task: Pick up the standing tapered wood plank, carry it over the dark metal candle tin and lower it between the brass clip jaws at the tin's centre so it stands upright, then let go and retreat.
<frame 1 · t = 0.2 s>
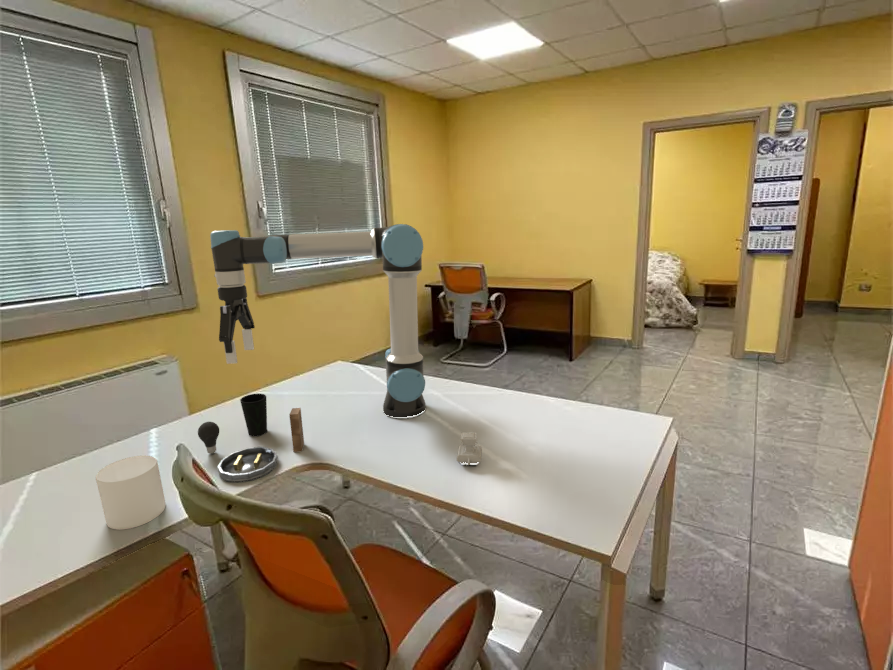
hand: (241, 356, 135), 27 cm above the table, fingers open, 13 cm apart
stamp: (469, 463, 127), on the table
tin: (249, 467, 126), on the table
light bulb: (212, 454, 134), on the table
cup: (258, 433, 147), on the table
cup 2: (137, 514, 107), on the table
tapered wood plank: (298, 448, 136), on the table
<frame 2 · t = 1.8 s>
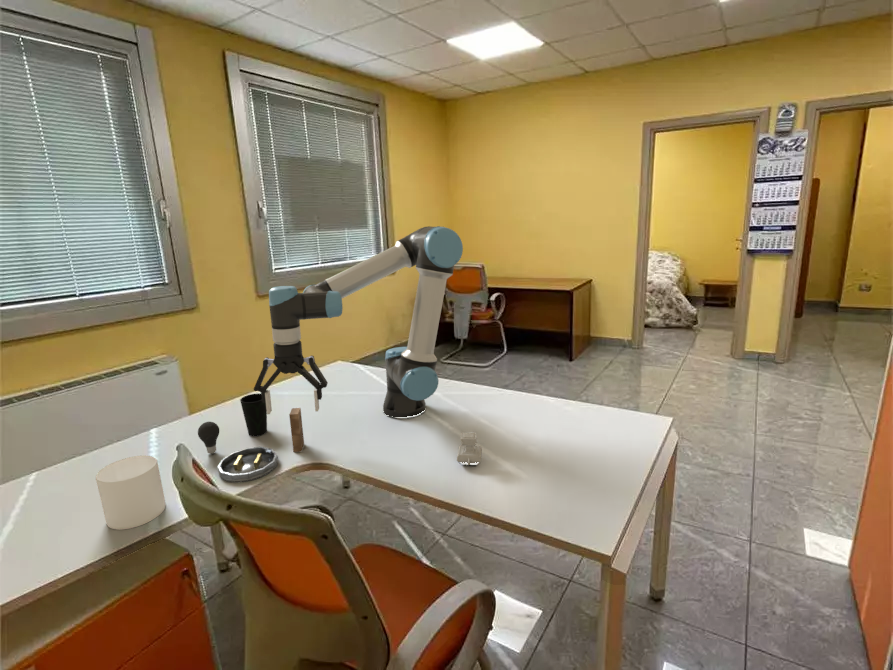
hand: (293, 411, 133), 12 cm above the table, fingers open, 13 cm apart
nothing on the table moved.
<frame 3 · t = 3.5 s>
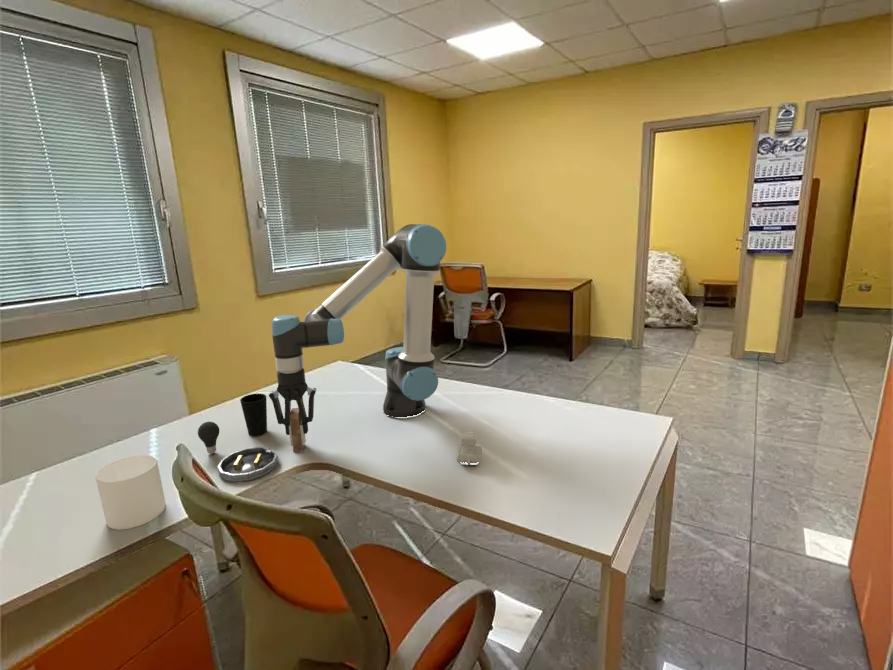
hand: (298, 443, 136), 2 cm above the table, fingers closed on tapered wood plank, 2 cm apart
tapered wood plank: (298, 447, 136), on the table, touching gripper
everything else where it was.
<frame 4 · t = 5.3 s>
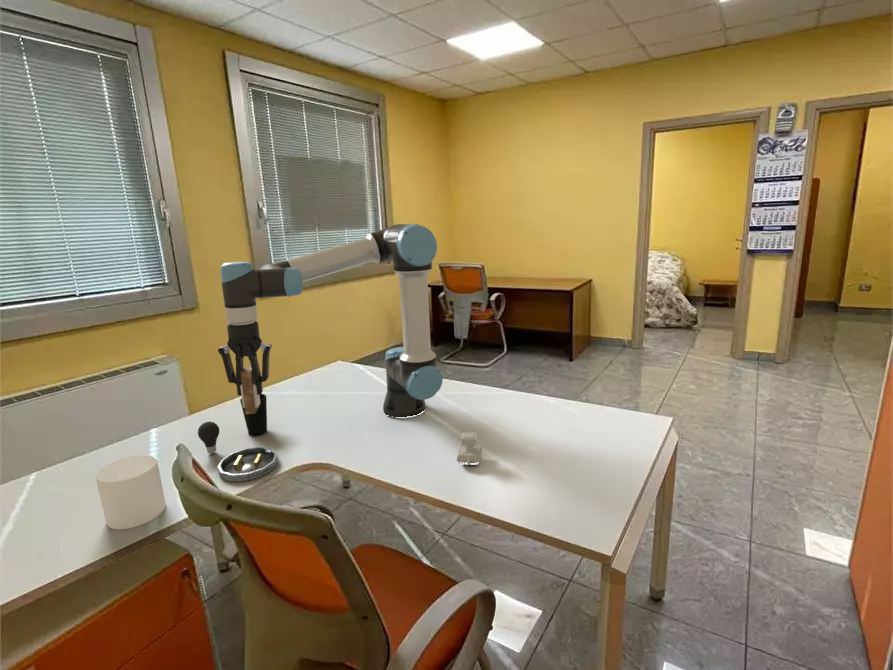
hand: (251, 405, 124), 17 cm above the table, fingers closed on tapered wood plank, 2 cm apart
tapered wood plank: (252, 410, 125), point 16 cm above the table, touching gripper
everything else where it was.
when the fingers open (3 cm above the table, at t = 7.5 s): tapered wood plank stays where it is, resting on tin.
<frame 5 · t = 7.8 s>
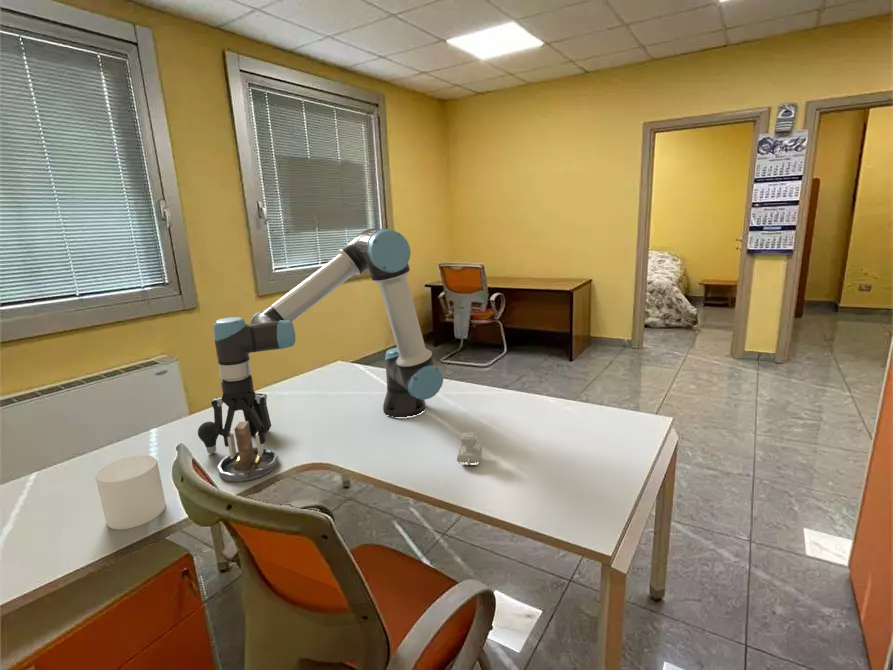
hand: (247, 455, 125), 4 cm above the table, fingers open, 7 cm apart
tapered wood plank: (248, 464, 126), point 1 cm above the table, touching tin
everything else where it was.
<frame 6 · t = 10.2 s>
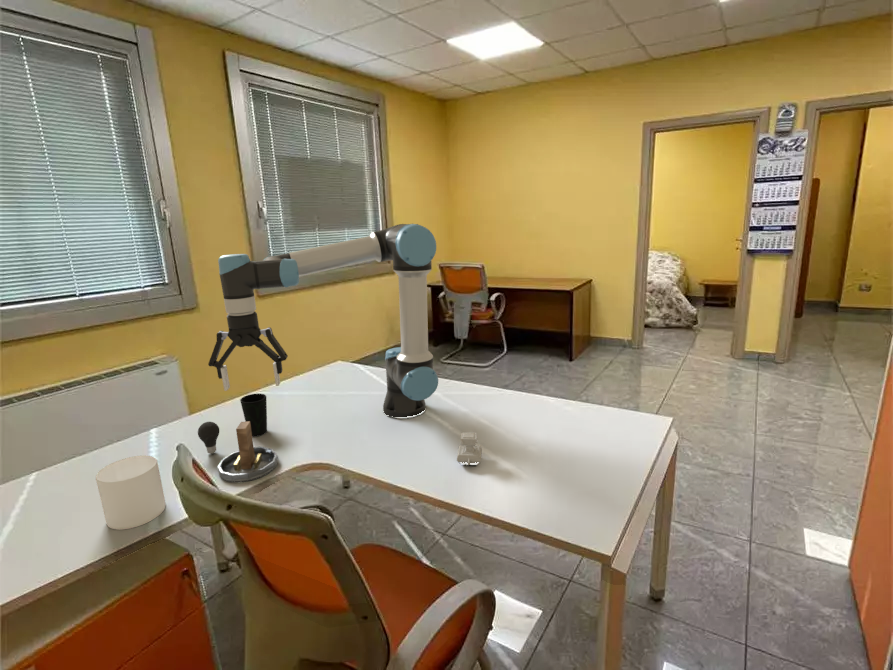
hand: (252, 386, 127), 21 cm above the table, fingers open, 13 cm apart
nothing on the table moved.
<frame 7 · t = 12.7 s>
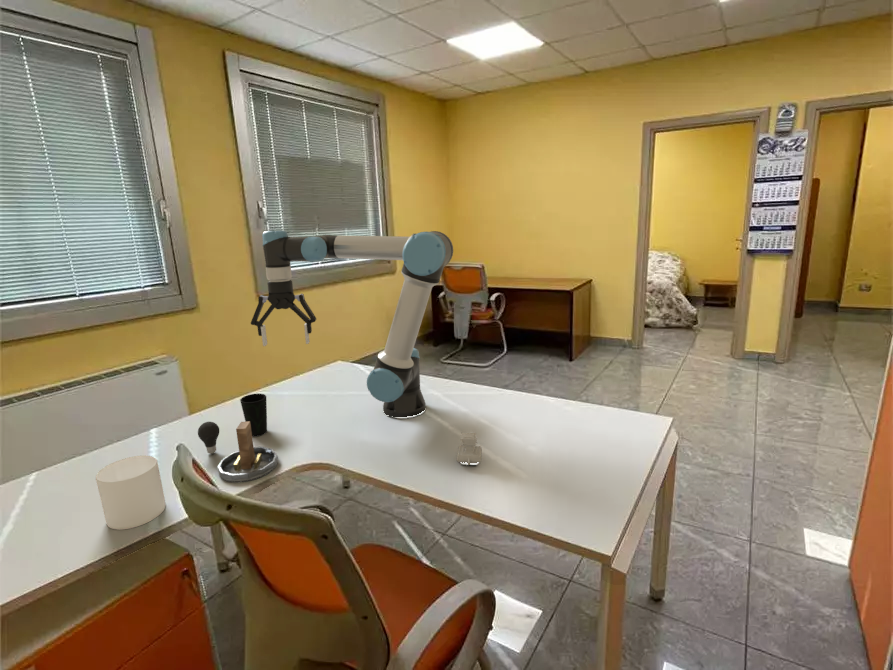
hand: (286, 344, 150), 27 cm above the table, fingers open, 13 cm apart
nothing on the table moved.
at the end: tapered wood plank 0.0 cm off-centre on the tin, point 0.8 cm above the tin's base; tapered wood plank tilted 0°; the gripper is holding nothing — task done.
